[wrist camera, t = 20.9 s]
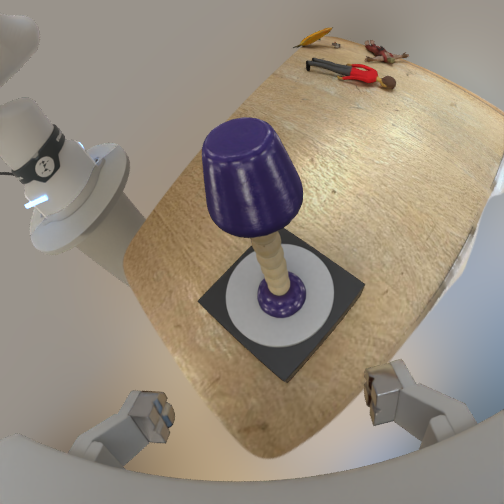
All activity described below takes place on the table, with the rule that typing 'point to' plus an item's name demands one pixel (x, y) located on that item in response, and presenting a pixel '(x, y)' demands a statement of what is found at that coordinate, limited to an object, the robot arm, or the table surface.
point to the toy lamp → (256, 202)
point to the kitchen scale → (290, 328)
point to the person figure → (353, 72)
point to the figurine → (381, 53)
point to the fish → (314, 37)
